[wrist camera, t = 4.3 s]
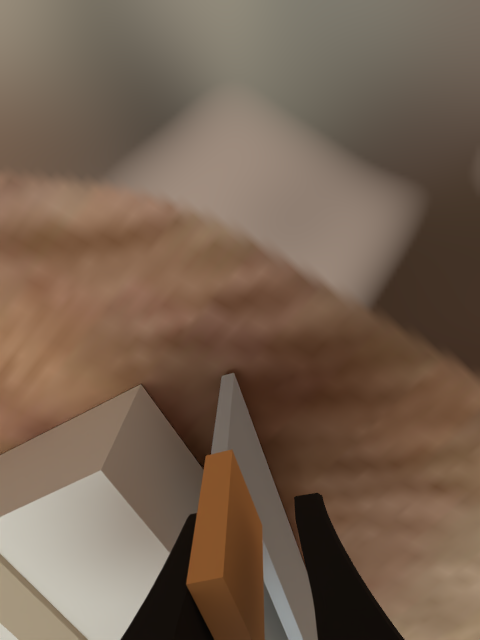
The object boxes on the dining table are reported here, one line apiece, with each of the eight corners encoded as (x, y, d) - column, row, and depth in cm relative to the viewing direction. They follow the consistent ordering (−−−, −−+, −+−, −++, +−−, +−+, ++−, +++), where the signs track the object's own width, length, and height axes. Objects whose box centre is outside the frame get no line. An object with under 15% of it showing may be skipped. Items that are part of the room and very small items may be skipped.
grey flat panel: (324, 611, 22) (365, 883, 14) (308, 614, 22) (340, 885, 14) (237, 371, 17) (223, 577, 9) (218, 377, 17) (185, 584, 9)
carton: (315, 622, 23) (332, 752, 18) (125, 686, 25) (94, 815, 20) (140, 384, 18) (98, 474, 13) (-76, 493, 20) (-179, 602, 15)
